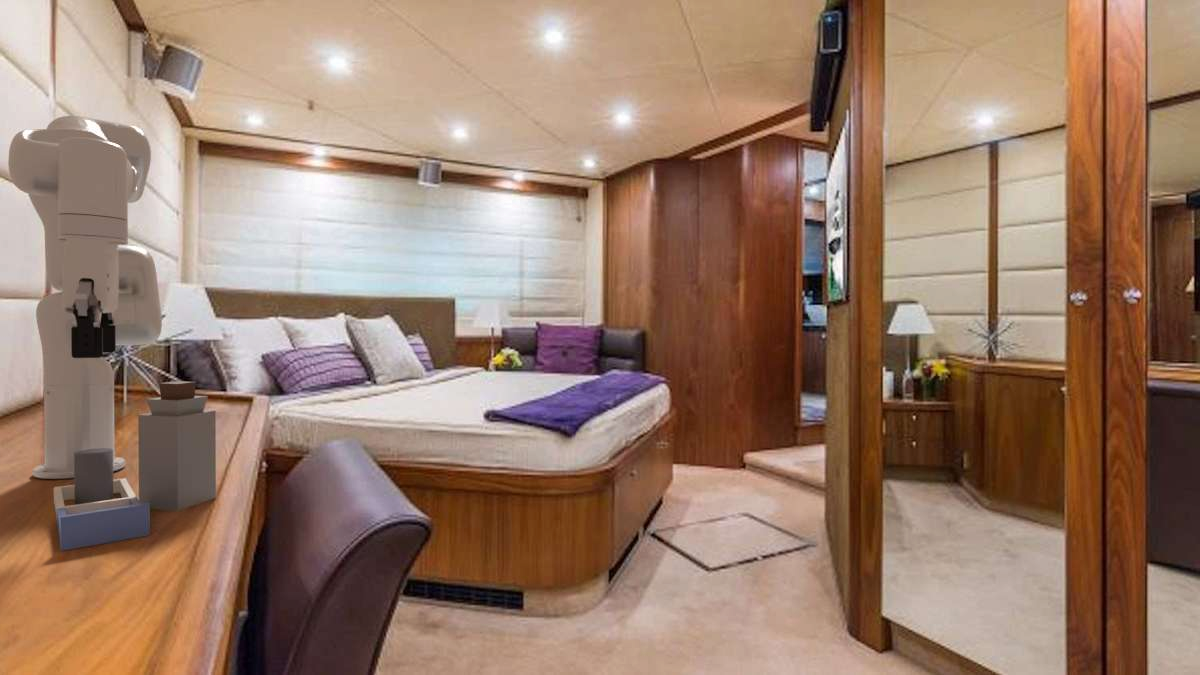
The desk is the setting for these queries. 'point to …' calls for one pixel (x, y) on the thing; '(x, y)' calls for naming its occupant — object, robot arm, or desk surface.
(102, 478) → the grey two-tone upright block
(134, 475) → the desk surface
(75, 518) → the blue-fronted open tray
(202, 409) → the perfume bottle
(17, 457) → the desk surface
